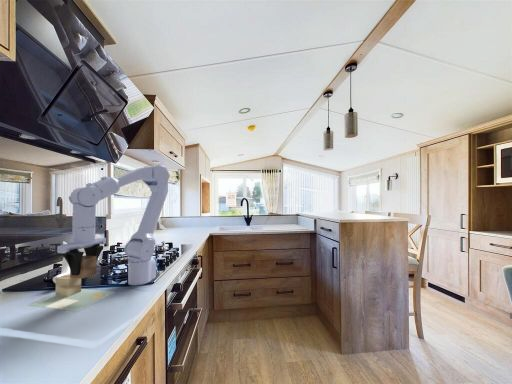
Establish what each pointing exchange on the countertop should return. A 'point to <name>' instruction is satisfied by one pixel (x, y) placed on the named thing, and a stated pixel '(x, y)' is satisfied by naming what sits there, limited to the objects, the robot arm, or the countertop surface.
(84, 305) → the board
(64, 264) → the white curved piece
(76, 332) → the countertop surface
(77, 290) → the oak block
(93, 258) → the walnut block
